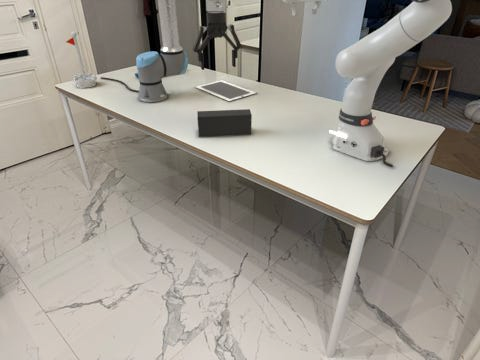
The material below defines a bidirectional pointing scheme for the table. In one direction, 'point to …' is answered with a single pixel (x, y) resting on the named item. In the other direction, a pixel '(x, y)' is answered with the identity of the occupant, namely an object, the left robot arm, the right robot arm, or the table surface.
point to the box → (224, 122)
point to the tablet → (225, 90)
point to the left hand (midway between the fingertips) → (218, 67)
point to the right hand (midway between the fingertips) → (304, 14)
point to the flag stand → (82, 68)
